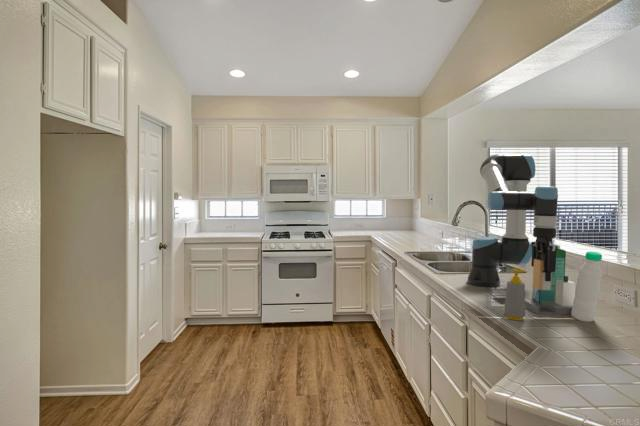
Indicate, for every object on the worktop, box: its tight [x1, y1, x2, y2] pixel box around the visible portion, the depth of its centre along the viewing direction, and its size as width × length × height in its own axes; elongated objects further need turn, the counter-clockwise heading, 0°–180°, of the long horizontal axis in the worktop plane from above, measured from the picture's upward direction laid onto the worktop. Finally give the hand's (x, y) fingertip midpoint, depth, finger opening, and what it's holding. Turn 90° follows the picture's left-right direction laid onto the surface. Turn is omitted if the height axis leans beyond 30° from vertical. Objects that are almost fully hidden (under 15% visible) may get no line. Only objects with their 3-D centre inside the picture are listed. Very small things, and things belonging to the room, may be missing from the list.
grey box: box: [525, 275, 576, 315], centre depth 149 cm, size 9×21×14 cm, turn 90°
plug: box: [532, 255, 552, 290], centre depth 148 cm, size 4×4×13 cm
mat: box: [491, 297, 506, 306], centre depth 161 cm, size 10×10×1 cm
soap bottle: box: [503, 268, 527, 321], centre depth 141 cm, size 7×7×18 cm
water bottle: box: [570, 251, 604, 323], centre depth 139 cm, size 7×7×25 cm
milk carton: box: [532, 243, 567, 304], centre depth 162 cm, size 9×9×25 cm
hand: (542, 287), depth 148 cm, fingers closed on plug, 4 cm apart
